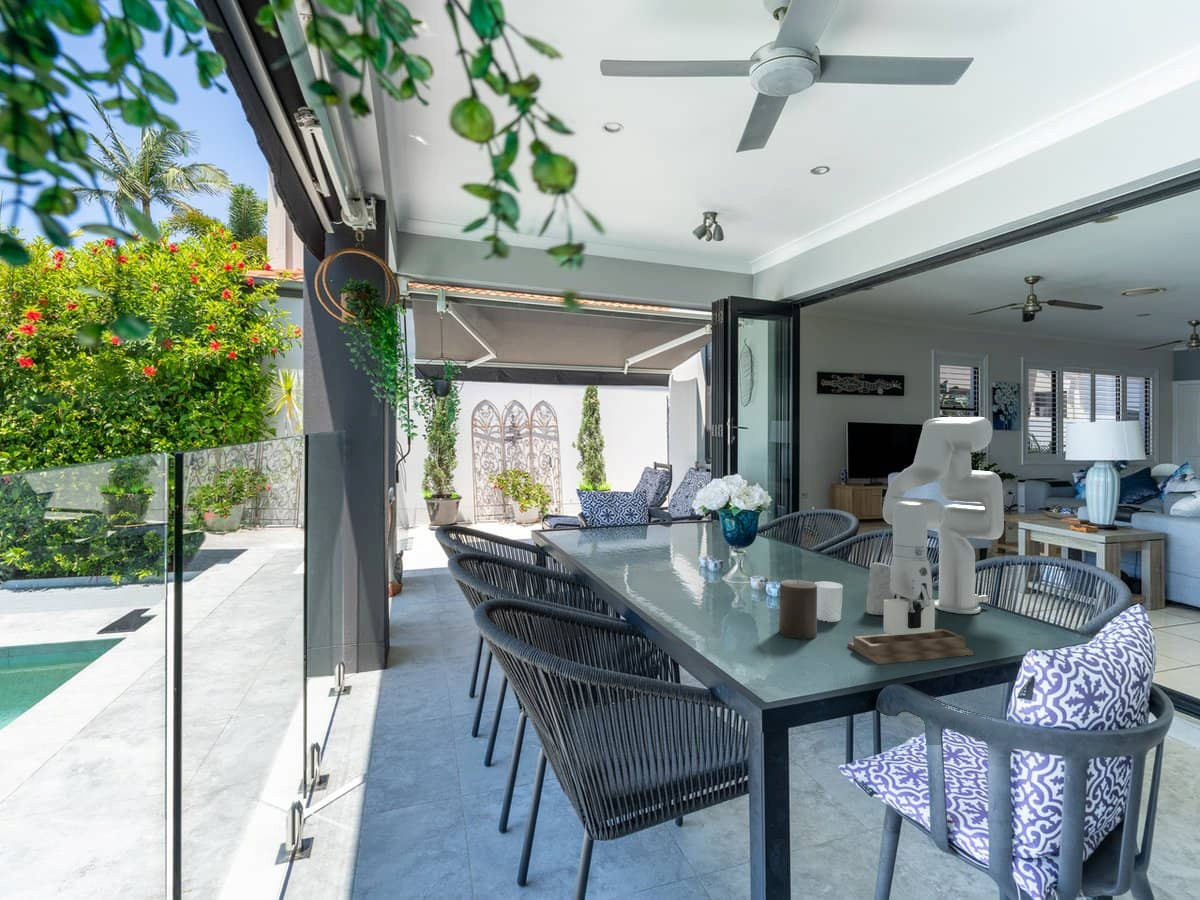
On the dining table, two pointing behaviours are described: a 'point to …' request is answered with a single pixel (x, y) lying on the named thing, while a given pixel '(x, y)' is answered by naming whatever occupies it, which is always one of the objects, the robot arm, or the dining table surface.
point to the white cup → (829, 601)
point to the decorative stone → (878, 588)
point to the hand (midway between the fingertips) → (909, 624)
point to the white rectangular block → (906, 617)
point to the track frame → (910, 646)
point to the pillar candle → (798, 609)
